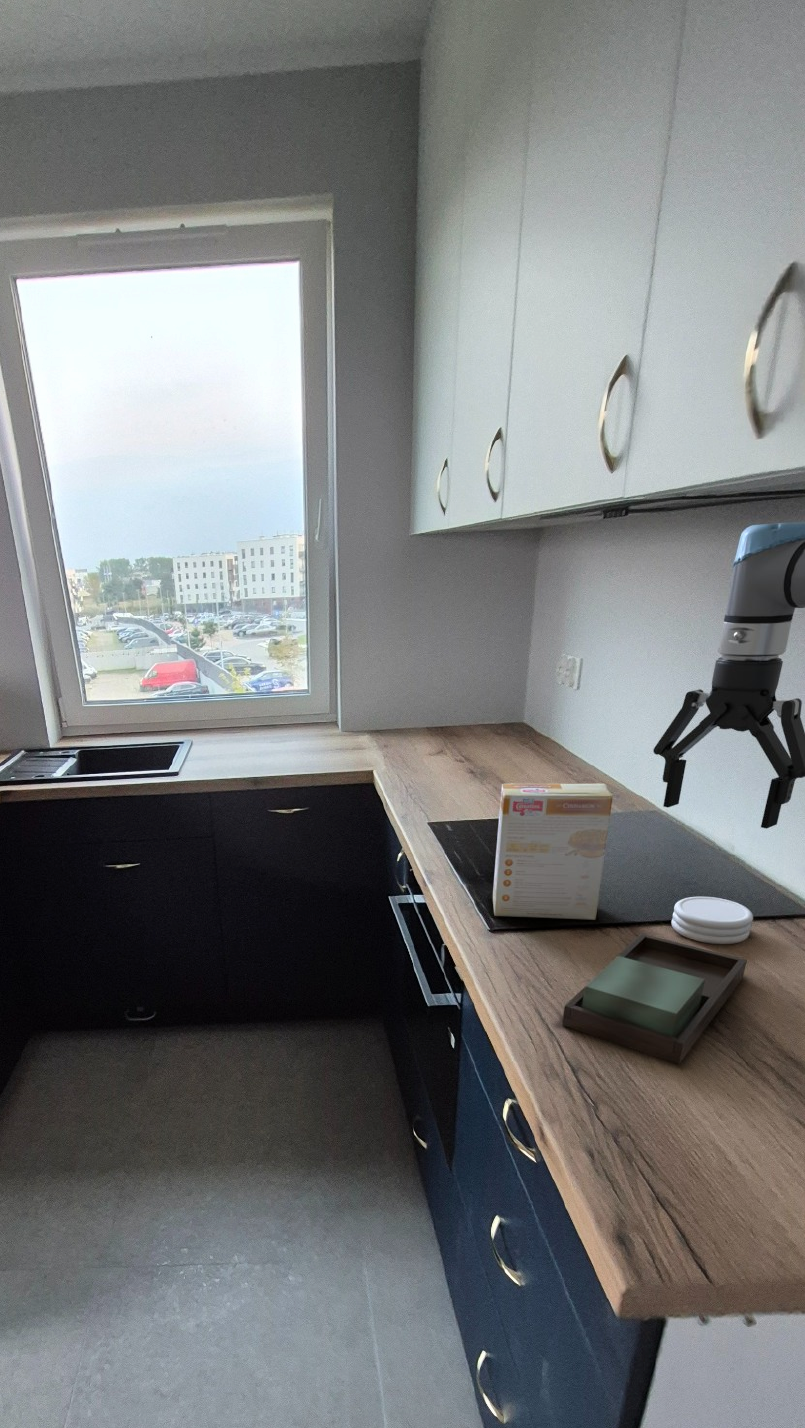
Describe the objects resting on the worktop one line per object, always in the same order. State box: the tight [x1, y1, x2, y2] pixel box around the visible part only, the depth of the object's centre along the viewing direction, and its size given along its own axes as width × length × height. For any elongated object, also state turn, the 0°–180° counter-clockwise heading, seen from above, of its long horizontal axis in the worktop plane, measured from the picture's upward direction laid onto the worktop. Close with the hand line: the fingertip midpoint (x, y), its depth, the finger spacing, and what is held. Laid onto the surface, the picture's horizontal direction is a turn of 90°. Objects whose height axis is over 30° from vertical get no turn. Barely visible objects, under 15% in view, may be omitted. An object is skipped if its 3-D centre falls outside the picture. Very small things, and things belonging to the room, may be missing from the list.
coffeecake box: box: [492, 783, 614, 921], centre depth 121 cm, size 15×7×20 cm, turn 77°
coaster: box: [670, 896, 754, 945], centre depth 115 cm, size 10×10×4 cm
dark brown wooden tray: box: [561, 933, 748, 1065], centre depth 98 cm, size 13×25×5 cm, turn 137°
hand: (717, 815), depth 112 cm, fingers open, 13 cm apart
